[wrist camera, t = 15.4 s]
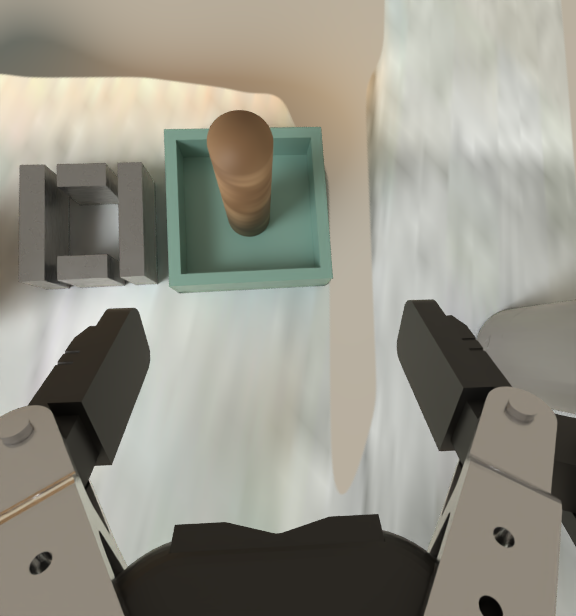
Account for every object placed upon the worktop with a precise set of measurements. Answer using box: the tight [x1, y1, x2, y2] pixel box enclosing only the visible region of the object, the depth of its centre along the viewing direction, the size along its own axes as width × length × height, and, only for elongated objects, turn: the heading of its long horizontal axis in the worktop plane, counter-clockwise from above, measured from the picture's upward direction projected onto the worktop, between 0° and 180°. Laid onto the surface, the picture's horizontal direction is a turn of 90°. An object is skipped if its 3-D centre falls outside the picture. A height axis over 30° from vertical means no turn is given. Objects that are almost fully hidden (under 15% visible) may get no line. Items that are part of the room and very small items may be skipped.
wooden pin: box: [207, 110, 273, 237], centre depth 28 cm, size 4×4×13 cm
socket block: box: [19, 162, 158, 289], centre depth 33 cm, size 10×10×4 cm
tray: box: [164, 127, 333, 293], centre depth 34 cm, size 14×14×4 cm
